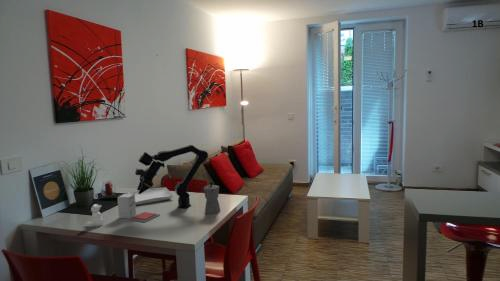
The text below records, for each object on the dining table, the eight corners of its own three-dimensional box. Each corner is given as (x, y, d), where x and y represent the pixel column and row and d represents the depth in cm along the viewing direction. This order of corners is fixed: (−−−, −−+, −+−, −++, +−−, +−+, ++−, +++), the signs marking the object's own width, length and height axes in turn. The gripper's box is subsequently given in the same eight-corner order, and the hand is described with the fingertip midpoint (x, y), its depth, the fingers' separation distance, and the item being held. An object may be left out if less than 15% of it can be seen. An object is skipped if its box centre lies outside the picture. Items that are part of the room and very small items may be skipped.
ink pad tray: (159, 215, 205) (159, 213, 205) (145, 222, 195) (145, 220, 195) (143, 213, 211) (143, 211, 210) (129, 220, 200) (129, 217, 200)
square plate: (127, 197, 250) (127, 192, 249) (165, 191, 261) (165, 186, 260) (131, 207, 225) (131, 201, 225) (174, 200, 236) (173, 195, 236)
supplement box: (130, 218, 203) (128, 197, 201) (118, 218, 204) (116, 197, 203) (136, 214, 210) (135, 193, 208) (125, 213, 211) (123, 193, 210)
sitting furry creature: (99, 221, 201) (97, 200, 199) (109, 223, 196) (107, 202, 195) (84, 226, 193) (82, 205, 191) (94, 228, 188) (92, 207, 187)
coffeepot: (222, 214, 203) (220, 183, 201) (206, 216, 201) (204, 185, 199) (218, 206, 218) (216, 178, 216) (203, 208, 216) (201, 179, 214)
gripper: (140, 160, 217) (125, 182, 215) (143, 165, 200) (127, 189, 198) (155, 169, 221) (141, 191, 219) (159, 175, 204) (144, 198, 202)
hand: (138, 192), depth 209 cm, fingers open, 9 cm apart
